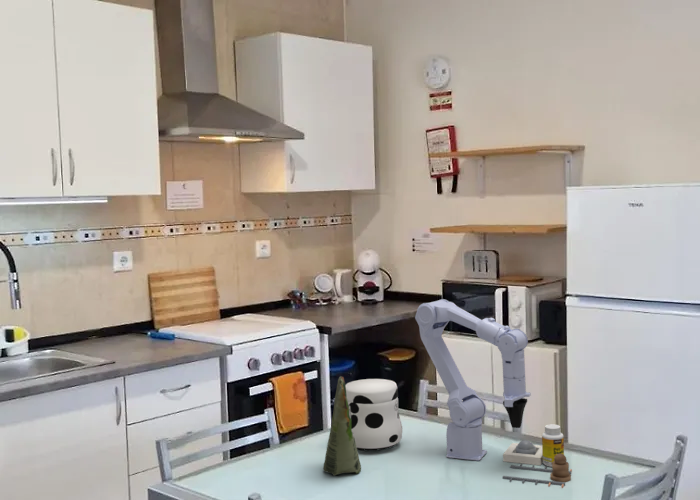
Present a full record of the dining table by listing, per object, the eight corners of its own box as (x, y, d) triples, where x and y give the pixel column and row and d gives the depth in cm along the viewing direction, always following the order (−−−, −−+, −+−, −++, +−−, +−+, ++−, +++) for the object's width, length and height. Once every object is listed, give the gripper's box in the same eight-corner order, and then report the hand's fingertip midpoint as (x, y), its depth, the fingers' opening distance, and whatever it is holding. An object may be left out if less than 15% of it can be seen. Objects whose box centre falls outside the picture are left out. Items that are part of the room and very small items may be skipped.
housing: (503, 461, 218) (503, 454, 218) (512, 449, 227) (512, 442, 227) (540, 465, 214) (540, 457, 213) (548, 453, 223) (548, 446, 222)
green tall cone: (343, 460, 224) (339, 371, 222) (374, 470, 216) (370, 377, 214) (313, 472, 216) (308, 379, 214) (344, 482, 208) (340, 386, 206)
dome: (514, 458, 219) (513, 442, 219) (518, 452, 224) (518, 436, 223) (533, 460, 217) (533, 444, 216) (537, 454, 221) (537, 438, 221)
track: (500, 480, 204) (500, 478, 204) (512, 464, 215) (512, 462, 215) (563, 488, 197) (563, 486, 197) (572, 471, 208) (572, 469, 208)
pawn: (548, 480, 202) (548, 455, 202) (552, 474, 207) (552, 449, 206) (568, 483, 200) (568, 458, 200) (572, 476, 205) (572, 451, 204)
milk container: (413, 440, 239) (411, 380, 237) (384, 458, 224) (381, 395, 223) (363, 433, 248) (360, 375, 247) (332, 450, 234) (329, 389, 232)
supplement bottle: (554, 469, 210) (553, 430, 209) (538, 463, 215) (537, 426, 214) (568, 464, 213) (567, 426, 212) (552, 459, 218) (551, 421, 217)
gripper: (522, 383, 204) (525, 436, 205) (535, 370, 217) (537, 420, 218) (495, 382, 207) (497, 434, 208) (509, 369, 220) (511, 418, 221)
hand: (516, 427), depth 213 cm, fingers closed
